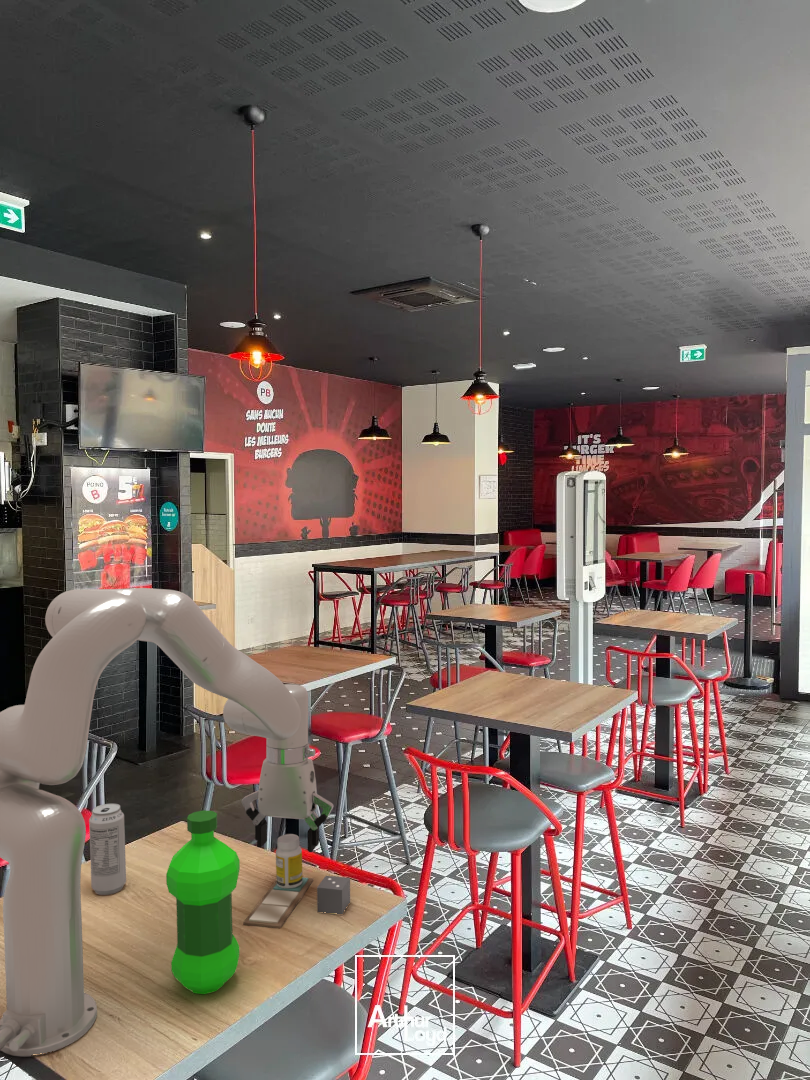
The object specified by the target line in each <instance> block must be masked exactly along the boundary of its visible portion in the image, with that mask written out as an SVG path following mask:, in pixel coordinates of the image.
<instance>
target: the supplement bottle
mask: <svg viewBox="0 0 810 1080" xmlns="http://www.w3.org/2000/svg"><path fill="white" fill-rule="evenodd" d="M276 840H277V841H276V843H277V844H276V846H277V848H276V850H275V874H276V875H275V877H276V878H275V880H277V885H278V886H279V887H281V888H285V889H289V888H295V887H298V886H299V885H301V883H302V881H303V876H304V875H303V850H302V849H303V848H302V846H300V837H299V836H298V835H297V834H294V833H286V834H282V835H280V836H279V837H277V839H276Z"/></svg>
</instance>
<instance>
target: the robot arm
mask: <svg viewBox="0 0 810 1080" xmlns="http://www.w3.org/2000/svg"><path fill="white" fill-rule="evenodd" d="M44 619H45V620H44V621H45V627H46V629H47V631H48V633H49V635H50V636H51V637H52V638H50V640H49V641H48V642H47V644H46V645H45V646H44V648H43V649H42V650H41V651H40V653H39V654H38V656H37V658H36V660H35V663H34V665H33V668H32V671H31V673H30V677H29V683H28V688H27V690H26V691H27V692H26V696H25V697H26V698H25V702H24V704H18V705H17V704H16V705H13V706H9V707H7V708H6V709H4V710H2V711H0V859H2V860H3V861H6V862H7V863H8V864H9V876H8V880H7V882H6V886H5V889H4V894H3V900H2V901H3V902H2V922H3V939H4V940H3V942H4V968H5V971H4V972H5V993H6V994H5V995H6V997H5V998H6V1010H5V1011H4V1012H3V1013H2V1017H1V1018H0V1052H2V1053H5V1054H7V1055H10V1056H14V1057H32V1056H31V1055H33V1054H40V1053H42V1055H44V1054H43V1053H46V1054H48V1053H47V1052H50V1053H53V1052H55V1051H58V1050H60V1049H61V1050H62V1049H63V1048H65V1047H68V1046H69V1045H71V1044H73V1043H74V1042H76V1041H78V1040H79V1039H80V1038H81V1037H83V1036H84V1035H85V1034H86V1033H87V1032H89V1030H90V1029H91V1028H92V1026H93V1025H94V1023H95V1021H96V1019H97V1015H98V1009H97V1008H98V1006H97V1002H96V1000H95V999H94V998H93V996H91V995H90V994H88V993H86V992H85V982H84V981H85V979H84V955H83V953H84V951H83V948H84V946H83V921H82V901H81V900H82V899H81V897H82V896H81V895H82V894H81V891H82V890H81V889H82V888H81V881H82V880H81V877H82V876H81V875H82V862H83V855H84V854H83V853H84V849H85V843H86V837H87V836H86V834H87V830H86V828H87V827H86V821H85V819H84V817H83V814H82V812H81V811H80V809H78V807H77V806H76V805H75V804H74V803H72V802H71V801H70V800H68V799H67V798H64V797H63V796H60V795H58V794H57V795H56V794H55V793H51V792H49V791H46V790H43V789H40V784H42V785H47V786H48V785H49V786H55V785H62V784H65V783H67V782H69V781H71V780H72V779H74V778H75V777H76V776H77V775H78V773H79V772H80V770H81V769H82V766H83V765H84V761H85V758H86V757H85V756H86V753H87V747H88V738H89V732H90V725H91V718H92V711H93V703H94V698H95V693H96V689H97V685H98V682H99V679H100V677H101V675H102V673H103V671H104V670H105V668H106V667H108V665H109V664H110V663H111V662H112V661H113V660H114V659H115V658H116V657H118V655H119V654H121V653H122V652H124V651H125V650H126V649H128V648H130V647H131V646H132V645H133V644H135V643H136V642H137V641H141V642H149V643H153V644H155V645H157V647H159V648H160V649H161V651H163V653H164V654H165V655H166V656H167V657H169V659H170V660H171V661H172V662H173V663H174V664H175V665H176V666H177V667H178V668H179V669H180V670H181V671H182V672H183V674H185V676H186V677H187V678H188V679H189V680H190V681H191V682H192V683H193V684H195V685H197V686H198V687H200V688H202V689H204V690H206V691H207V692H209V693H210V692H211V693H213V694H215V695H217V696H220V697H223V698H225V699H227V700H226V702H225V703H224V706H223V710H222V713H223V714H222V717H223V720H224V722H225V724H226V725H227V727H229V728H230V729H231V730H233V731H235V732H237V733H241V734H245V735H250V736H255V737H261V738H265V739H266V747H265V748H266V751H265V754H266V756H265V757H266V758H265V759H263V761H262V766H261V771H260V775H259V776H260V777H259V783H258V790H256V791H254V792H252V793H250V794H248V795H246V796H244V797H243V798H242V799H241V805H242V806H243V808H244V809H245V813H246V815H247V816H248V818H250V820H251V821H252V824H253V826H254V827H255V829H254V830H255V831H254V833H255V836H254V839H255V842H256V846H257V848H262V847H263V846H264V845H265V844H267V841H268V821H267V819H266V817H270V818H279V819H280V818H281V819H282V818H283V819H295V820H303V821H305V823H306V824H307V825H308V827H309V829H308V830H307V852H308V853H312V852H313V851H315V849H316V848H317V847H318V846H319V843H320V826H322V824H323V823H324V822H326V820H328V818H329V816H330V814H331V812H332V811H333V809H334V804H333V803H332V802H331V801H330V800H328V799H326V798H324V797H323V796H321V795H319V794H318V791H317V779H316V772H315V771H316V770H315V765H314V762H313V759H311V758H310V757H316V749H315V748H312V747H310V743H309V693H308V690H307V689H306V687H304V686H303V685H299V684H293V683H292V684H291V683H287V684H286V683H285V684H284V683H283V681H282V680H281V679H279V677H277V676H276V675H275V674H274V673H273V672H272V671H270V670H268V669H267V668H266V667H265V666H263V665H261V664H260V663H258V662H257V661H255V660H254V659H253V658H252V657H250V656H248V655H247V654H245V653H244V652H242V651H241V650H239V649H237V648H236V647H235V646H234V645H232V643H230V642H229V641H228V639H227V638H226V637H225V636H224V635H223V634H222V633H221V631H220V630H219V629H218V627H216V625H215V624H214V623H213V622H212V621H211V620H210V618H209V617H208V616H207V615H206V614H205V613H204V611H203V610H202V609H201V608H200V606H199V605H198V604H197V603H196V602H195V601H194V600H193V599H192V598H191V597H190V596H189V595H187V594H186V593H184V592H181V591H178V590H174V589H163V588H151V587H150V588H149V587H136V588H135V587H134V588H131V587H130V588H108V589H106V588H105V589H104V588H97V589H95V588H94V589H93V588H90V589H83V588H82V589H81V588H80V589H79V588H78V589H77V588H76V589H70V590H66V591H64V592H62V593H60V594H59V595H57V596H56V597H55V598H53V599H52V600H51V602H50V604H49V605H48V606H47V610H46V613H45V618H44ZM256 800H257V808H256V807H255V806H254V804H253V802H255V801H256ZM318 807H320V808H321V809H322V812H321V814H320V815H318V813H316V812H315V811H316V810H317V808H318ZM52 1051H53V1052H52Z"/></svg>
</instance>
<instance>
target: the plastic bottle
mask: <svg viewBox="0 0 810 1080" xmlns="http://www.w3.org/2000/svg"><path fill="white" fill-rule="evenodd" d="M186 826H187V827H186V828H187V829H186V830H187V832H189V833H190V834H191V839H190V840H188V841H187V842H186V843H185V844H183V846H182V847H181V848H180V849H179V850H177V852H176V853H174V855H172V858H171V860H170V862H169V865H168V868H167V871H166V873H165V876H166V877H165V879H166V886H167V890H168V893H169V894H171V896H173V897H174V898H175V899H176V901H175V902H176V903H175V905H176V906H175V907H176V930H177V931H176V932H177V933H176V934H177V944H176V947H175V949H174V953H173V956H172V958H171V963H170V964H171V967H170V968H171V972H172V975H173V976H174V978H175V979H176V980H177V982H179V983H180V984H181V985H182V986H183V987H184V988H186V990H189V991H190V992H192V993H193V994H200V995H206V994H207V995H208V994H212V993H214V992H217V991H218V990H219V989H220V988H222V987H223V986H224V984H225V983H227V982H228V980H230V979H231V978H233V976H234V975H235V973H236V971H237V968H238V964H239V958H240V945H239V942H238V941H237V938H236V937H235V935H234V934H233V900H232V899H233V898H232V896H233V894H232V893H233V892H234V890H236V888H237V884H238V879H239V874H240V869H241V868H240V866H241V865H240V857H239V856H238V853H237V852H236V851H235V850H234V849H233V848H232V847H230V846H229V845H227V844H226V843H225V842H223V841H221V840H220V839H218V838H217V837H215V832H214V831H215V830H217V828H218V813H217V812H216V811H214V810H206V809H205V810H204V809H203V810H199V811H193V812H192V813H190V814H188V815H187V818H186Z"/></svg>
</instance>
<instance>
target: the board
mask: <svg viewBox="0 0 810 1080" xmlns="http://www.w3.org/2000/svg"><path fill="white" fill-rule="evenodd" d="M314 880H315V879H314V877H306V876H304V877H303V881H302V883H301V885H299V886H298V887H295V888H289V889H285V888H281V887H279V886H278V885H277V879H275V881H274V882H273V883H272V885H271V886H270V888H269V889H268V890H267V892H265V894H264V895H263V896H262V898H261V899H260V901H259V902H258V903H257V904H256V905H255V907H254V908H253V909H252V910H251V912H250V913H249V914H248V916H247V917H246V918H245V919H244V921H243V926H254V927H263V928H264V927H265V928H271V929H272V928H273V929H282V927H283V926H284V925H285V923H286V922H287V920H288V918H289V916H290V915H291V914H292V913H293V911H294V910H295V908H296V907H297V905H298V904H299V902H300V901H301V900H302V898H303V897H304V895H305V893H306V892H307V891H308V890H309V887H311V885H312V883H313V882H314Z"/></svg>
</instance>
